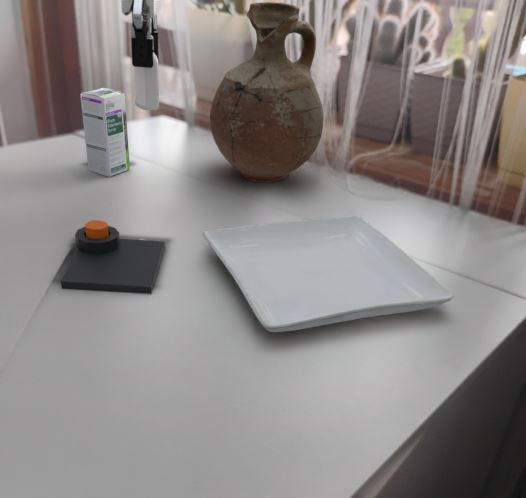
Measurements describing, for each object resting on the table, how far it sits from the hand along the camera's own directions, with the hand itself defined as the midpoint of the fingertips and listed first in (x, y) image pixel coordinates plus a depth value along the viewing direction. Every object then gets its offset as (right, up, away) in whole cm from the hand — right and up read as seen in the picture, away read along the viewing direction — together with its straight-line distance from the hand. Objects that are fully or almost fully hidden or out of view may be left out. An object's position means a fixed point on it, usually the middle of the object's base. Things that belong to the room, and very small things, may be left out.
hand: (145, 61), depth 100 cm
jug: (+19, -11, +26) cm, 34 cm away
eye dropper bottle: (-1, -6, +4) cm, 7 cm away
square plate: (+27, -36, -9) cm, 46 cm away
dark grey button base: (-2, -34, -10) cm, 36 cm away
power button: (-6, -29, -8) cm, 31 cm away
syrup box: (-11, -11, +22) cm, 27 cm away
